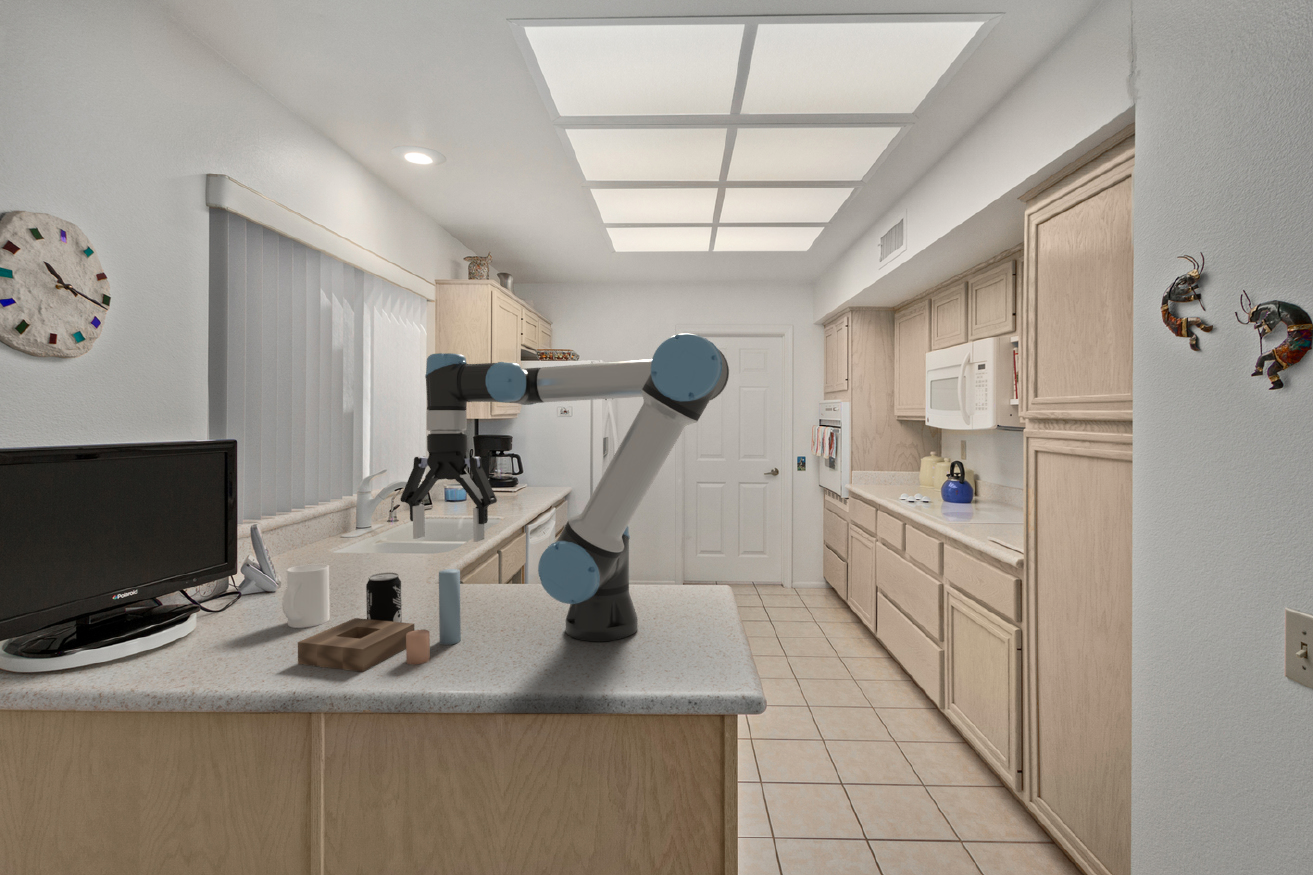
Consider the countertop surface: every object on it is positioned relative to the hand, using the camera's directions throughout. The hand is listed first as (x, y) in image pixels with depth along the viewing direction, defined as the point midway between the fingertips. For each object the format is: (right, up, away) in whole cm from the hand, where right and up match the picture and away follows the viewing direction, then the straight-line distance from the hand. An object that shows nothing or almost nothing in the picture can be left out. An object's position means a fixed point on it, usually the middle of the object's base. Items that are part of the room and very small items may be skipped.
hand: (448, 539), depth 120 cm
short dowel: (-2, -21, -9) cm, 23 cm away
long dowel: (0, -20, 0) cm, 20 cm away
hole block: (-15, -21, -6) cm, 26 cm away
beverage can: (-15, -21, +5) cm, 26 cm away
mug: (-35, -21, +11) cm, 42 cm away
